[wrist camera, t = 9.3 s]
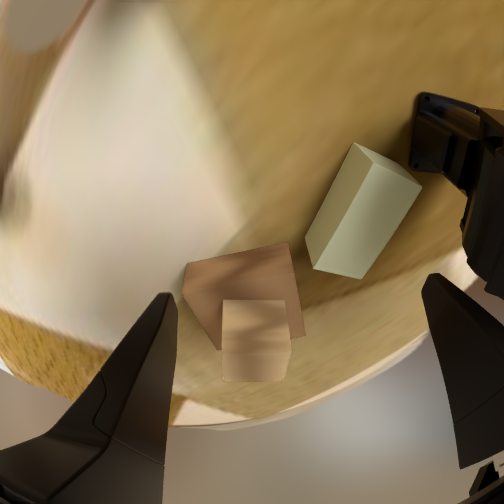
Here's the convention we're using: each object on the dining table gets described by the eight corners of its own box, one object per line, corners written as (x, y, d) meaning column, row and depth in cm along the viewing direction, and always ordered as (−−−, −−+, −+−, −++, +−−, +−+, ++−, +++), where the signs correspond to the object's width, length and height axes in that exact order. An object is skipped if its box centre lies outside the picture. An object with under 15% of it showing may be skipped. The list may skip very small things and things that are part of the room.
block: (398, 162, 20) (422, 186, 17) (347, 248, 26) (361, 279, 22) (352, 141, 19) (373, 162, 16) (303, 236, 24) (313, 268, 21)
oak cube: (284, 299, 24) (292, 352, 20) (277, 333, 27) (282, 380, 23) (223, 299, 23) (221, 353, 20) (224, 334, 27) (223, 381, 23)
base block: (287, 239, 25) (294, 272, 22) (300, 304, 31) (305, 335, 27) (187, 260, 26) (181, 293, 23) (218, 319, 32) (217, 350, 29)
